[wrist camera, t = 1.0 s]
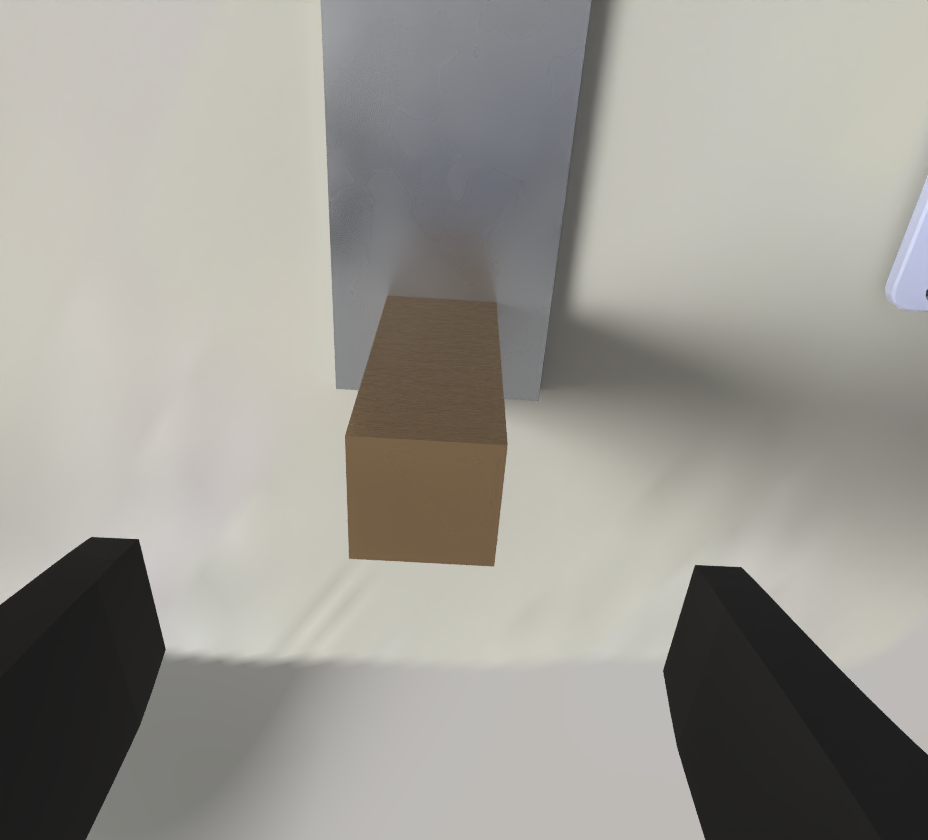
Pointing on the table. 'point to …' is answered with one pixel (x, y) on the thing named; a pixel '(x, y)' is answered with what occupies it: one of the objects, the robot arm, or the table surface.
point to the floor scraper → (442, 250)
